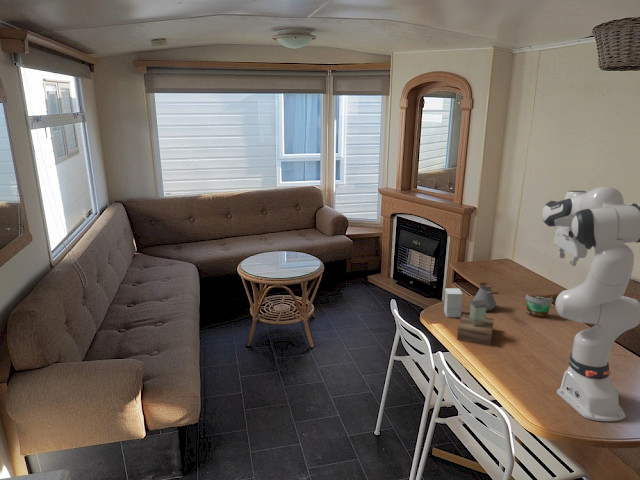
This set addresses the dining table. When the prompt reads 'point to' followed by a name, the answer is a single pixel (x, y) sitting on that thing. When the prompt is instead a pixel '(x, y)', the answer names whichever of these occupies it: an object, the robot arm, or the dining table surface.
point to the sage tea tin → (477, 313)
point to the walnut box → (475, 331)
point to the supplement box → (453, 302)
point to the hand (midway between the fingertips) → (567, 261)
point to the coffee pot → (486, 295)
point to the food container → (538, 306)
